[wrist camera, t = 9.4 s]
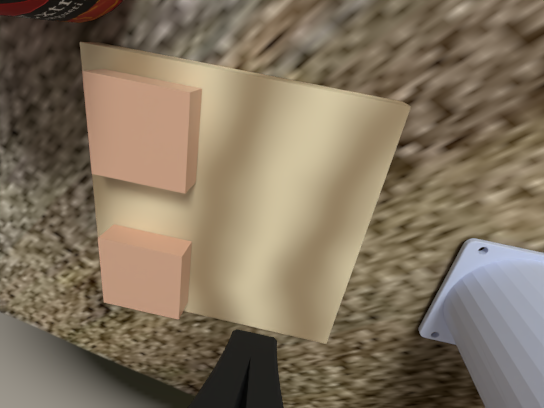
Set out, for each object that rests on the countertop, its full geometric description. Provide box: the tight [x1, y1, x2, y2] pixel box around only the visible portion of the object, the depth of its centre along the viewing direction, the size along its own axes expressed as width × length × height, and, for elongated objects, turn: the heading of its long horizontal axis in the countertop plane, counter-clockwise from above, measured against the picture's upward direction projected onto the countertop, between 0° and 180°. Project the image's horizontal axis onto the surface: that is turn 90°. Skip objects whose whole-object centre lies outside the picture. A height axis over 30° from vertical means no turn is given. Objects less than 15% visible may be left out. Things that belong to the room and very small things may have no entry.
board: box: [80, 42, 411, 344], centre depth 19 cm, size 16×16×2 cm
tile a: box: [82, 69, 202, 194], centre depth 16 cm, size 2×5×5 cm
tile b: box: [98, 224, 192, 320], centre depth 20 cm, size 2×5×5 cm
